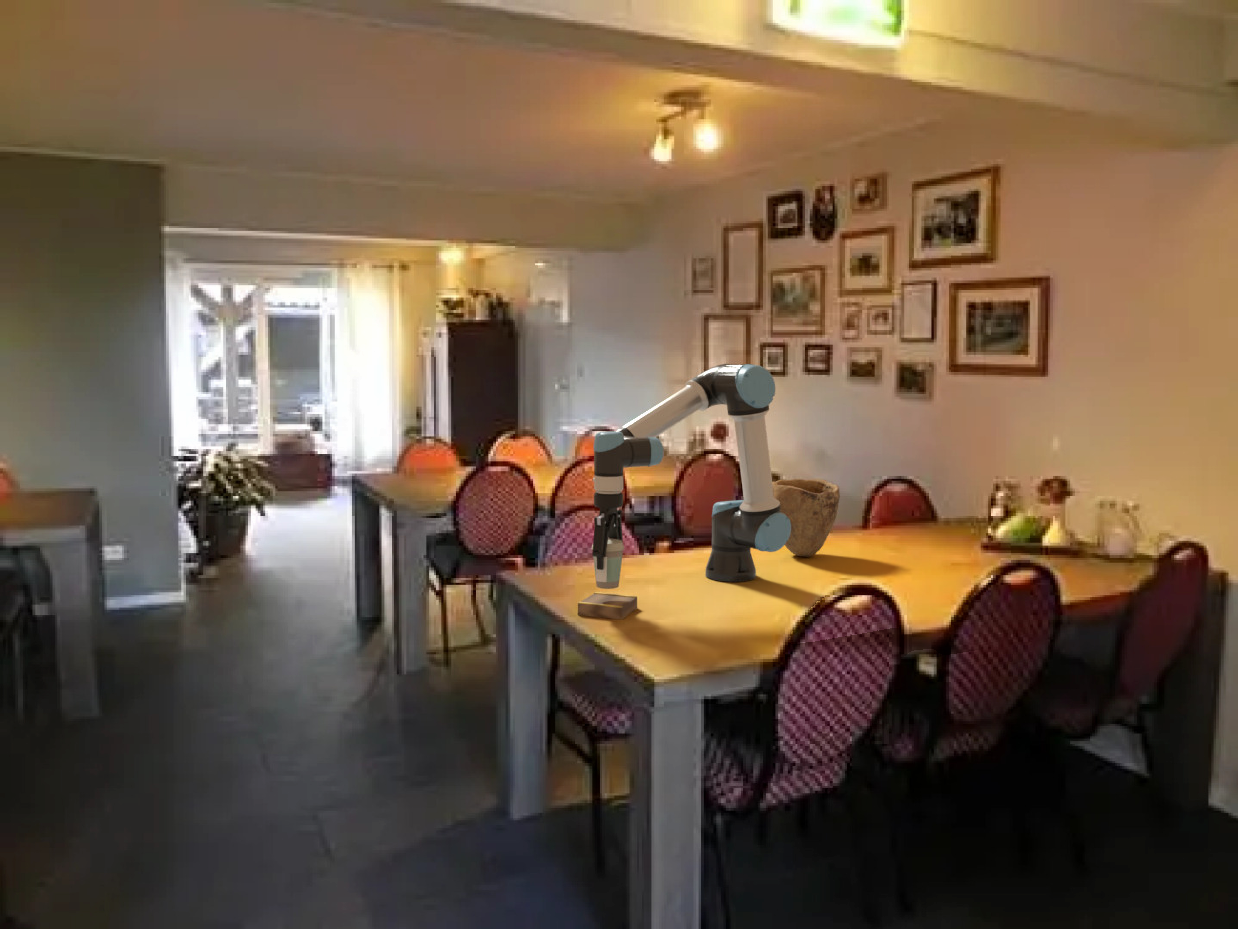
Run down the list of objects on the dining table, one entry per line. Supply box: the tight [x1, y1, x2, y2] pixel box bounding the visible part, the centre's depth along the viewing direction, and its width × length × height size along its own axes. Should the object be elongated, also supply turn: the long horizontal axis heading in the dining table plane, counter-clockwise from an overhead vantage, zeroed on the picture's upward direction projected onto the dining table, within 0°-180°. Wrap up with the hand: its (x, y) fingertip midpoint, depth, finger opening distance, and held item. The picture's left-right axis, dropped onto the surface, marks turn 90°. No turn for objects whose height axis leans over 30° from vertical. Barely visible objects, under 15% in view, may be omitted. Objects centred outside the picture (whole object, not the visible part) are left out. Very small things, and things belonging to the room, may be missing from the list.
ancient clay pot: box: [772, 478, 841, 558], centre depth 331 cm, size 22×22×25 cm
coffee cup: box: [591, 538, 625, 590], centre depth 261 cm, size 8×9×12 cm
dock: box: [577, 591, 638, 620], centre depth 262 cm, size 12×12×3 cm
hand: (607, 577), depth 261 cm, fingers closed on coffee cup, 8 cm apart
